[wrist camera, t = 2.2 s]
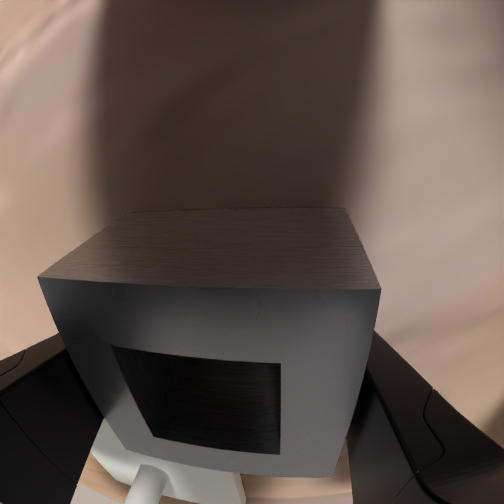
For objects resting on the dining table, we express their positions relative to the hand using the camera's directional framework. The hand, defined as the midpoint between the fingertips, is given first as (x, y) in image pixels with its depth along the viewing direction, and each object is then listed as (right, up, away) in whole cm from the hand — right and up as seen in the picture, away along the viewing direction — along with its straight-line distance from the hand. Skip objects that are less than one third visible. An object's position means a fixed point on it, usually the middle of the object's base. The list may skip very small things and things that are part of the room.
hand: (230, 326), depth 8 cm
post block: (-5, -11, +7) cm, 13 cm away
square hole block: (0, 0, +1) cm, 1 cm away
